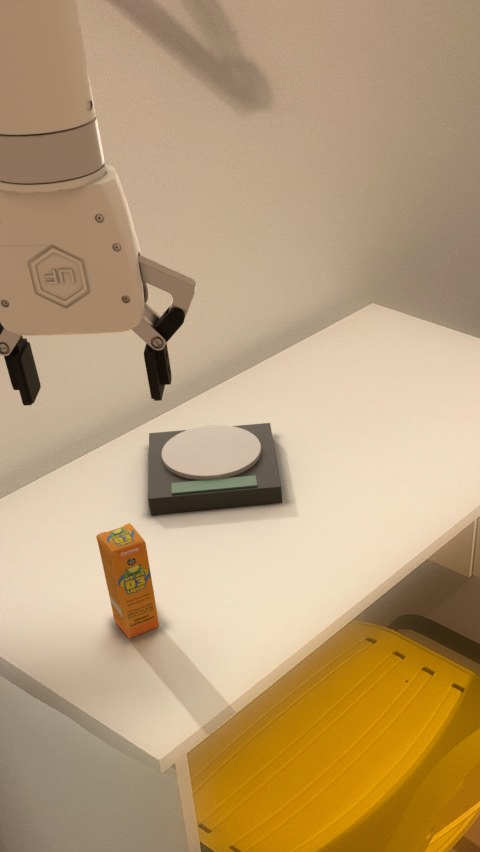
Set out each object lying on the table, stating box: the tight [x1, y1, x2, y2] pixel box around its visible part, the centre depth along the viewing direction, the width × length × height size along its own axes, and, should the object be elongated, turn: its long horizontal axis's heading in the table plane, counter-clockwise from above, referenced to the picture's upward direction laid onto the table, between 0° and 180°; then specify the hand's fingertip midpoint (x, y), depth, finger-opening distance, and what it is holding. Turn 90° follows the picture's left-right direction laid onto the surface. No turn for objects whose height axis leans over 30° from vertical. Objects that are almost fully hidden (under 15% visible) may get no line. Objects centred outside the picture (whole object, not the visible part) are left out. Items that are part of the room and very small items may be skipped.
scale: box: [147, 422, 283, 516], centre depth 107 cm, size 14×14×3 cm
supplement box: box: [95, 522, 160, 639], centre depth 85 cm, size 3×3×10 cm
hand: (95, 394), depth 73 cm, fingers open, 9 cm apart
